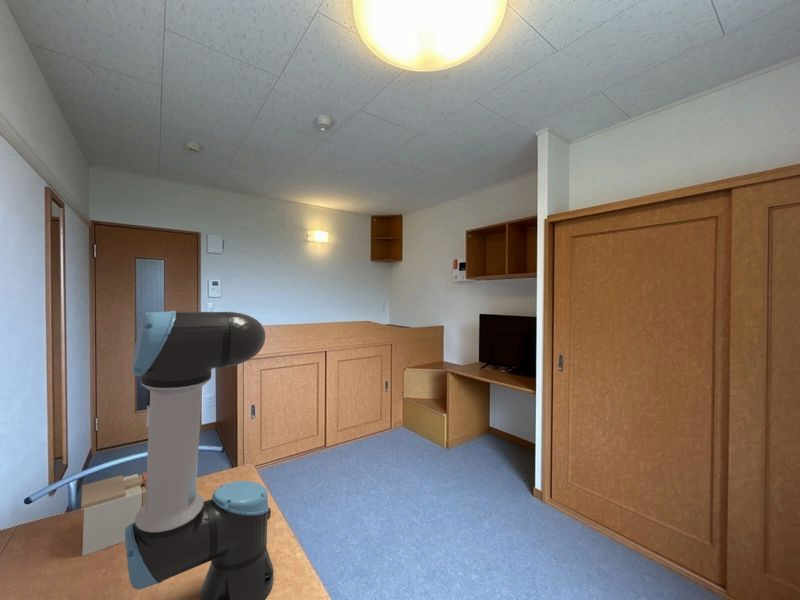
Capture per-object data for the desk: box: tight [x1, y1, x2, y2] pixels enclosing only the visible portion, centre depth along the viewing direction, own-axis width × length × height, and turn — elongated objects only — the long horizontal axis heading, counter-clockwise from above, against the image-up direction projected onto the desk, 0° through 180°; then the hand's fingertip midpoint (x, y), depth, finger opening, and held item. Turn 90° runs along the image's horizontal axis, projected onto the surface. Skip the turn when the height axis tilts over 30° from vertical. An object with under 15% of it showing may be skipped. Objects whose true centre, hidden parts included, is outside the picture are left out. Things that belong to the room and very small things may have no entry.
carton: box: [82, 473, 146, 557], centre depth 97 cm, size 14×13×12 cm
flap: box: [80, 471, 147, 509], centre depth 98 cm, size 13×18×2 cm
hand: (154, 431), depth 103 cm, fingers open, 13 cm apart
